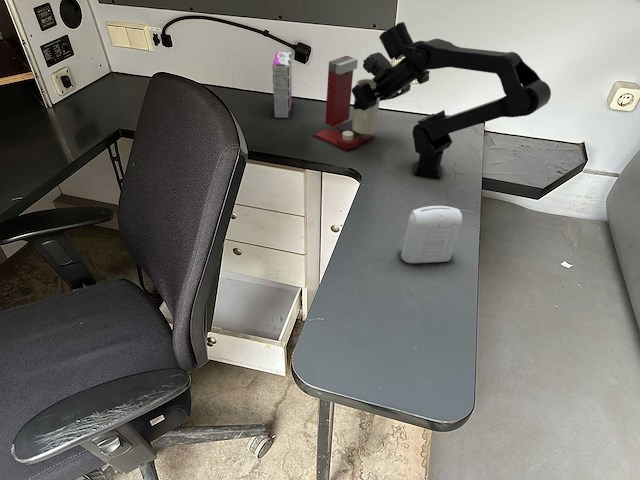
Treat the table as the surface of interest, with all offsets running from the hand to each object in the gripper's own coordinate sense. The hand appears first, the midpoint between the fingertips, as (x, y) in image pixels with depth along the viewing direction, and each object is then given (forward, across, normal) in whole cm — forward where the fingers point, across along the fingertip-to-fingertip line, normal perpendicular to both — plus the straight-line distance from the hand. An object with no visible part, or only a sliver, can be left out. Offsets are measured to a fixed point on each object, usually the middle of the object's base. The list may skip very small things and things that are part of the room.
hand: (362, 103), depth 129 cm
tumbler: (+4, 0, +6) cm, 7 cm away
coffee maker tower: (+9, 0, +3) cm, 9 cm away
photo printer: (-23, +29, +38) cm, 53 cm away
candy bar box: (+28, +4, -12) cm, 30 cm away
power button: (+6, +6, +6) cm, 10 cm away
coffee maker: (+10, +2, +5) cm, 11 cm away
